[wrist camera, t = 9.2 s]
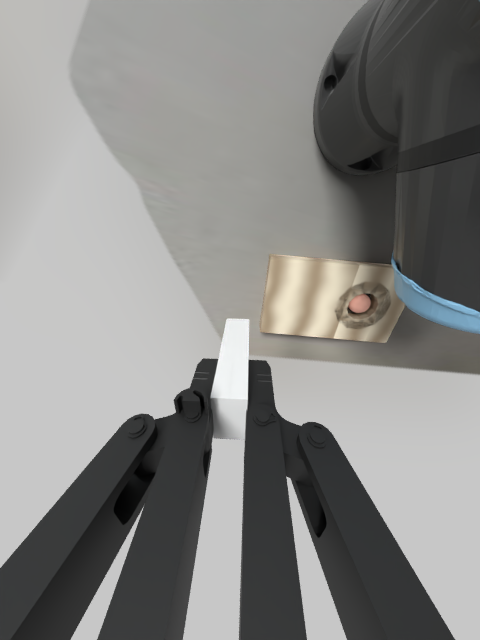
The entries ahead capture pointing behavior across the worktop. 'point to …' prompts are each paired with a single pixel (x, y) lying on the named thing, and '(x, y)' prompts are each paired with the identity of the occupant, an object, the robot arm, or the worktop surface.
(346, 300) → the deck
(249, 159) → the worktop surface
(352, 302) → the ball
